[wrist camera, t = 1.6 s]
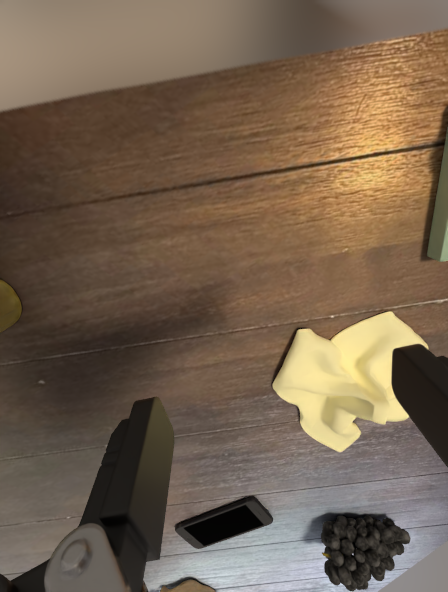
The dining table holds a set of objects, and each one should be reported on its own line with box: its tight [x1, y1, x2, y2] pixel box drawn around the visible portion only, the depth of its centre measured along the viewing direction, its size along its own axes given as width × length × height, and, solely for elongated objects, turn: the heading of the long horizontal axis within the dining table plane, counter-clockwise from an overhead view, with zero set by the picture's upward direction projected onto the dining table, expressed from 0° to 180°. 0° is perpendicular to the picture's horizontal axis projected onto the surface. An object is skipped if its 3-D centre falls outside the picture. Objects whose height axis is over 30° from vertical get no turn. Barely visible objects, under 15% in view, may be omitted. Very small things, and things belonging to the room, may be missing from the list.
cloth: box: [272, 312, 428, 452], centre depth 33 cm, size 22×19×6 cm
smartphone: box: [175, 497, 273, 549], centre depth 47 cm, size 7×15×1 cm, turn 120°
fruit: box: [321, 515, 410, 591], centre depth 46 cm, size 9×8×15 cm
